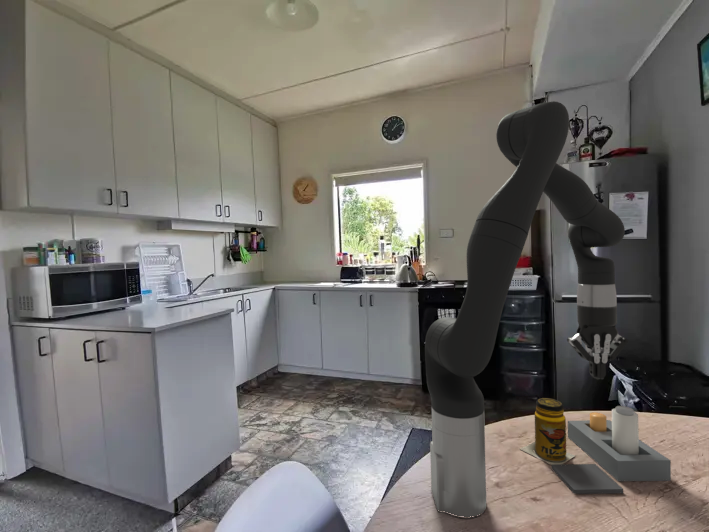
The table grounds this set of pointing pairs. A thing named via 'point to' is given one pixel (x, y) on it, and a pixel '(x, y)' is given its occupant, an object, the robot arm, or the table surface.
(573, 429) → the block
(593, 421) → the plunger
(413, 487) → the table surface
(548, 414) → the condiment
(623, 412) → the cylinder
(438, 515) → the table surface
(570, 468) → the mat
